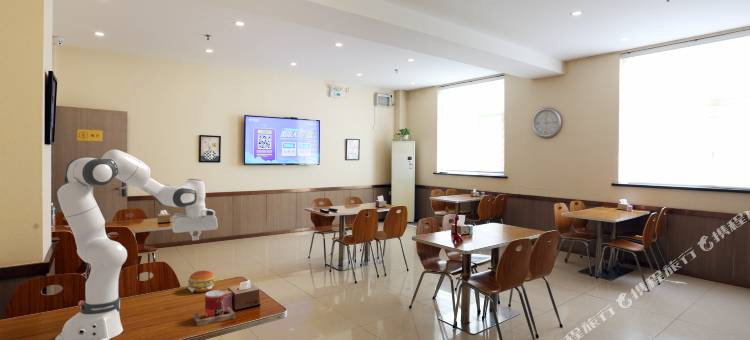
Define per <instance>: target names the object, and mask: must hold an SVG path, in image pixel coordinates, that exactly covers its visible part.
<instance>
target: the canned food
mask: <svg viewBox="0 0 750 340" xmlns="http://www.w3.org/2000/svg"><path fill="white" fill-rule="evenodd" d="M224 297H225V294H224V291H223V290H219V289H218V290H217V289H216V290H209V291H206V292H205V294H204V316H205V318H210V317H215V316H221V315H225V314H224V310H225V309H224V308H225V306H224V305H225V304H224V303H225V302H224V301H225V300H224Z"/></svg>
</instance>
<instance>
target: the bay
mask: <svg viewBox="0 0 750 340" xmlns="http://www.w3.org/2000/svg"><path fill="white" fill-rule="evenodd" d="M226 312H227V314H223V315H221V316H215V317H210V318H206V317H205V318H200V316H199V314H198V312H195V313H194V312H193V313H192V315H193V317H192V318H193V321H194V322H195V324H196V327H199V326H204V325H209V324H213V323H219V322H223V321H228V320H229V321H230V320H234V319H236V312H235V311H234V310H233V309H232V307H231V306H227V307H226Z"/></svg>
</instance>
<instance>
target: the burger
mask: <svg viewBox="0 0 750 340" xmlns="http://www.w3.org/2000/svg"><path fill="white" fill-rule="evenodd" d="M215 282H216V278H215V275H214V273H212V272H211V271H209V270H198V271H194V272H193V273H192V274H190V276H189V278H188V282H187V283H188V285H187V288H188V290H189V291H190V293H206V292H209V291H212V289H213V288H214V286H215Z"/></svg>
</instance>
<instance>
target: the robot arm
mask: <svg viewBox="0 0 750 340" xmlns="http://www.w3.org/2000/svg"><path fill="white" fill-rule="evenodd" d="M151 172H152V171H151V167H150V166H148V164H147V163H145V162H144V161H142V160H141V159H139V158H137V157H135V156H133V155H131V154H129V153H127V152H126V151H122V150H119V149H110V150H108V151H106V152H105V153H104V154H103V155H102V156H101V158H95V157H78V158H74V159H72V160H70V161H69V162H68V163H67V165H65V169H64V183H65V184H63V185H61V186H60V187H59V189H58V190H57V194H56V195H57V200H58V203H59V207H60V209H61V212H62V213H63V216H64V218H65V220H66V221H67V223H68V226H69V228H70V229H71V231H72V234H73V237H74V240H75V245H76V248H77V249H76V254H77V255H78V257H79V258H80V259H81V260H82V261H83V262H85V263H86V264H89V265H90V272H89V275H88V278H87V280H86V281H85V284H84V285H85V300H80V301H78V308H79V310H78V311H79V312H77V313H76V314H75V315H73V316H72V317H70V318H69V319H68V320H67V321H66V322H65V323H64V325H63V326H62V330H61V332H60V333H59V334H58V335H57V336H56V337H55V339H54V340H110V339H113V338H115V337H117V336H119V335H120V334H121V333H122V332H123V331H124V328H123V325H122V322H121V321H122V320H121V317H120V308H121V298H120V296H119V278H120V273H121V269H122V266H123V265H124V263H125V262H126V261H127V258H128V250H127V249H126V247H125V246H123V245H122V244H121V243H120V242H118V241H115V240H113V239H111V238H109V237H108V236H107V232H106V228H105V224H106V219H105V218H104V215H103V213H102V212H101V209H100V207H99V205H98V203H97V201H96V199H95V197H94V187H96V188H98V187H103V186H106V185H108V184H109V183H111V182H112V181H113V180H114V179H117V180H119V181H121V182H123V183H124V184H128V185H130V186H133V187H136V188H139V189H141V190H142V191H144V192H146V193H148V194H149V195H151V196H152V197H153V198H154V199H155V200H156V201H157V203H158V204H159V205H161V206H164V207H172V208H185V212H176V213H174V214H173V215H172V216H171V222H172V232H173V233H176V234H178V233H189V234H190V236H191V240H192V241H199V240H200V236H201V234H202V232H204V231H212V230H217V229H218V228H219V225H218V223H219V222H218V218H217V216H216V211H215V210H213V209H211V208H207V207H206V201H205V200H206V186H205V182H204V181H203V180H201V179H196V178H188V179H187V180H186V181H185V182H184V183H181V184H180V185H178V186H175V185H170V184H163V183H160V182H158V181H156V180H155V179H154V178H151V174H152V173H151ZM194 232H197V233H198V234H197V235H194Z"/></svg>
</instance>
